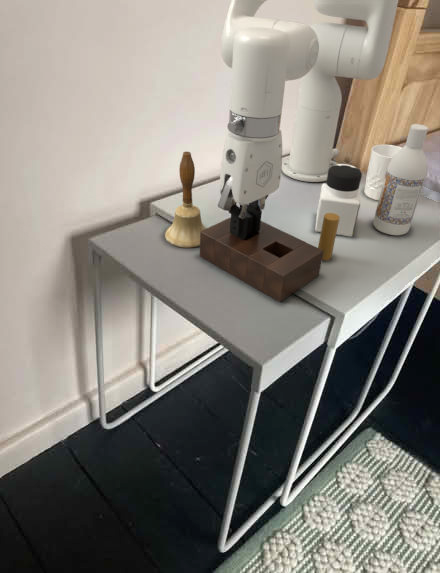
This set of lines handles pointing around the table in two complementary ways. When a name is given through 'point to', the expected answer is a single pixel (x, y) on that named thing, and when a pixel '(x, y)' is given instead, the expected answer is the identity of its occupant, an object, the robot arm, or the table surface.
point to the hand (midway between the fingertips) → (244, 231)
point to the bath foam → (402, 185)
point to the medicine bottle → (340, 198)
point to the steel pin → (249, 224)
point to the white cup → (378, 168)
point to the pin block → (262, 258)
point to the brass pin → (328, 234)
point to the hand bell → (186, 211)
